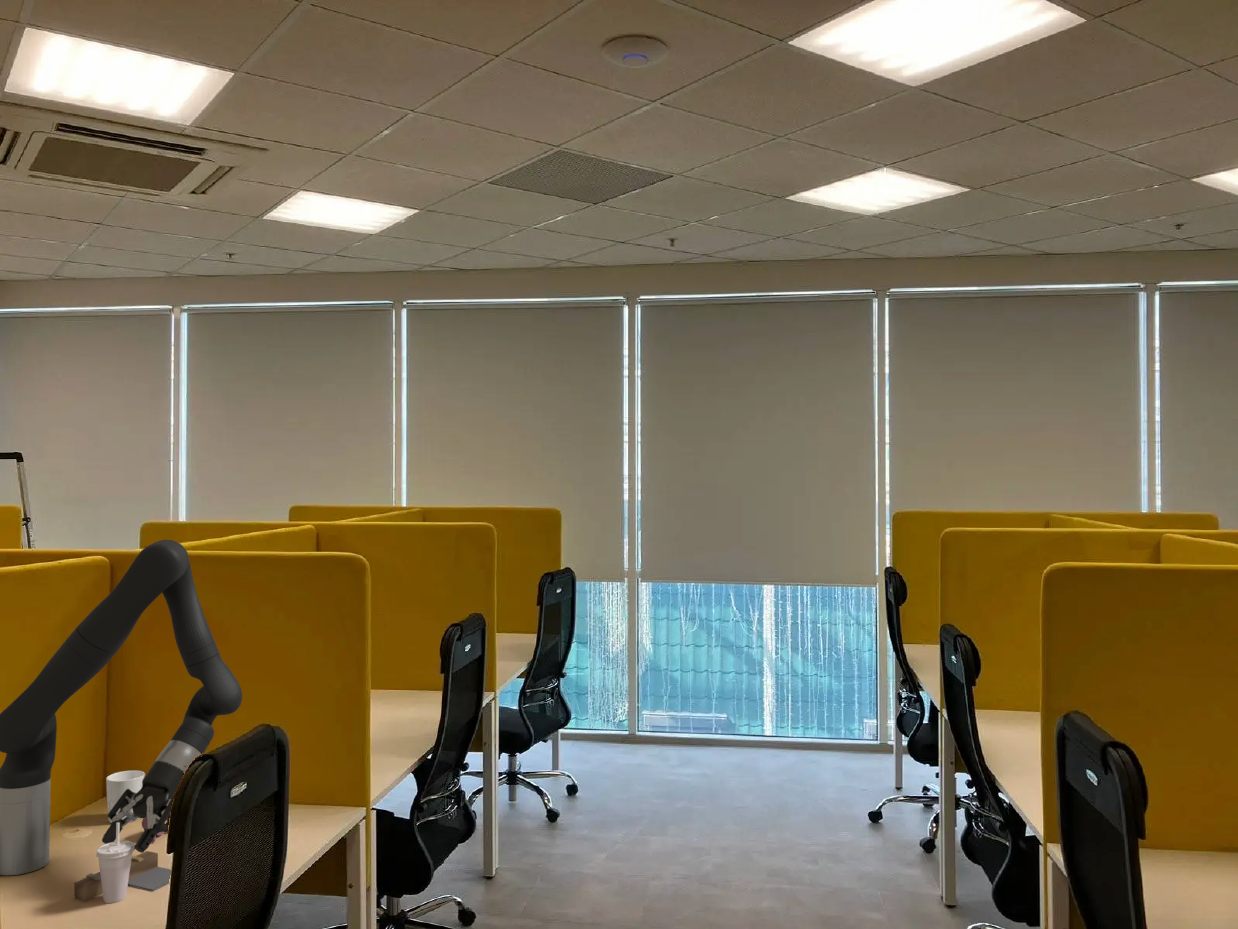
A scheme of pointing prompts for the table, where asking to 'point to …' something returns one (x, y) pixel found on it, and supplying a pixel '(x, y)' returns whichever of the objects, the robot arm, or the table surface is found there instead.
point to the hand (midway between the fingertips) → (121, 847)
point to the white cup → (122, 786)
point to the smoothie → (115, 868)
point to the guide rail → (92, 882)
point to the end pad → (151, 879)
